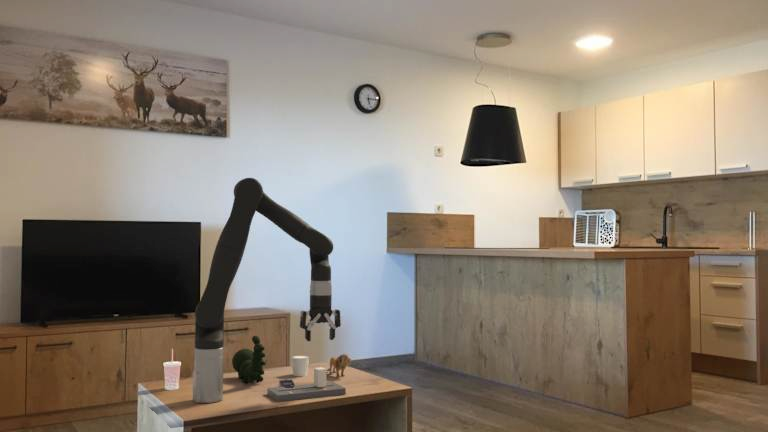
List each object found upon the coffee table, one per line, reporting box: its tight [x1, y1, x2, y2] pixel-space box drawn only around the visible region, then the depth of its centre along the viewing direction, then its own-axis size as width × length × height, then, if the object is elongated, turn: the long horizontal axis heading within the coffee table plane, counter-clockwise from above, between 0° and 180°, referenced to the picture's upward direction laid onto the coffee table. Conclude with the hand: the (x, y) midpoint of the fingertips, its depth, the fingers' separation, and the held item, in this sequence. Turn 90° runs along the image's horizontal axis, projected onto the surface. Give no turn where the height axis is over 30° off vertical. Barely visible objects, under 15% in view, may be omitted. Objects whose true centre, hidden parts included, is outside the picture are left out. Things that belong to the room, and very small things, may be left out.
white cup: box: [291, 355, 310, 377], centre depth 261 cm, size 7×7×7 cm
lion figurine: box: [326, 353, 353, 378], centre depth 261 cm, size 15×5×9 cm, turn 38°
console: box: [266, 381, 347, 403], centre depth 228 cm, size 24×12×2 cm, turn 117°
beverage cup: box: [162, 348, 182, 391], centre depth 236 cm, size 6×6×14 cm
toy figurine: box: [231, 335, 266, 384], centre depth 250 cm, size 9×19×25 cm
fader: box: [313, 366, 327, 387], centre depth 230 cm, size 3×4×8 cm
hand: (320, 340), depth 231 cm, fingers open, 8 cm apart
